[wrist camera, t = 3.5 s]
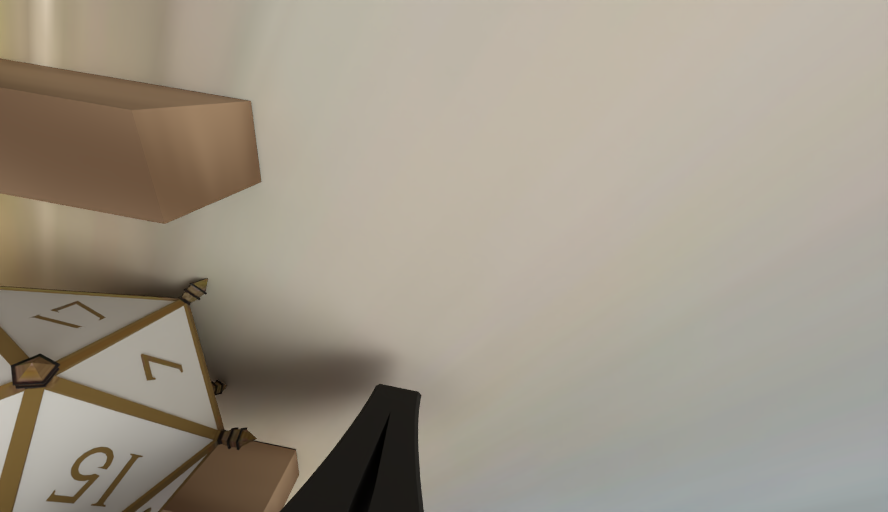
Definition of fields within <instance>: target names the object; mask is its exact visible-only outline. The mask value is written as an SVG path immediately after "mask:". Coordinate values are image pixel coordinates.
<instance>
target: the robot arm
mask: <svg viewBox="0 0 888 512" xmlns="http://www.w3.org/2000/svg"><path fill="white" fill-rule="evenodd" d="M420 399H421V394H420V393H419V392H417V391H412V390H407V389H402V388H397V387H392V386H388V385H383V384H379V385H377V386H376V387H375V389H374V391H373V392H372V394H371V396H370V397H369V399H368V401H367V402H366V404H365V405H364V407H363V409H362V410H361V412H360V413H359V415H358V416H357V417H356V419H355V420H354V422H353V423H352V425H351V426H350V427H349V429H348V430H347V431H346V433H345V434H344V435H343V437H342V438H341V439H340V441H339V442H338V443H337V445H336V446H335V447H334V449H333V450H332V451H331V453H330V454H329V455H328V456H327V458H326V459H325V460H324V461H323V462H322V464H321V465H320V466H319V467H318V468H317V470H316V471H315V472H314V473H313V474H312V476H311V477H310V478H309V479H308V481H307V482H306V483H305V484H304V485H303V486H302V487H301V489H300V490H299V491H298V492H297V493H296V494H295V495H294V497H293V498H292V499H291V500H290V501H289V502H288V503H287V504H286V505H285V506H284V507H283V509H282V510H281V511H280V512H424V510H423V501H422V492H421V481H420V468H419V452H418V416H419V405H420Z"/></svg>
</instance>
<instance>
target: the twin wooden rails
mask: <svg viewBox="0 0 888 512" xmlns="http://www.w3.org/2000/svg"><path fill="white" fill-rule="evenodd" d="M260 182H261V176H260V169H259V161H258V153H257V145H256V138H255V130H254V122H253V114H252V107H251V101H248V100H242V99H236V98H230V97H224V96H218V95H212V94H206V93H200V92H194V91H188V90H182V89H176V88H170V87H164V86H159V85H153V84H147V83H141V82H135V81H129V80H123V79H117V78H111V77H105V76H99V75H93V74H87V73H81V72H75V71H70V70H64V69H58V68H52V67H46V66H40V65H34V64H28V63H22V62H16V61H10V60H4V59H0V193H2V194H7V195H13V196H18V197H24V198H29V199H34V200H40V201H45V202H50V203H56V204H61V205H66V206H72V207H77V208H83V209H88V210H93V211H99V212H104V213H109V214H115V215H120V216H125V217H131V218H136V219H142V220H147V221H152V222H158V223H163V224H166V223H168V222H170V221H172V220H175V219H177V218H179V217H182V216H184V215H186V214H189V213H191V212H193V211H195V210H198V209H200V208H202V207H205V206H207V205H209V204H212V203H214V202H216V201H218V200H221V199H223V198H225V197H228V196H230V195H232V194H235V193H237V192H239V191H242V190H244V189H246V188H248V187H251V186H253V185H255V184H258V183H260ZM298 476H299V470H298V462H297V455H296V450H292V449H288V448H283V447H278V446H274V445H269V444H264V443H260V442H255V441H251V442H249V443H248V444H246V445H244V446H242V447H241V448H240V449H239V450H237V448H235V447H231V448H230V449H228V447H227V446H226V445H223V444H220V445H218V446H217V447H216V448H215V450H214V451H213V452H212V453H211V454H210V455H209V457H208V458H207V459H206V460H205V461H204V462H203V464H202V465H201V466H200V467H199V468H198V469H197V470H196V472H195V473H194V474H193V475H192V476H191V477H190V479H189V480H188V481H187V482H186V483H185V484H184V486H183V487H182V488H181V489H180V490H179V491H178V493H177V494H176V495H175V496H174V497H173V498H172V500H171V501H170V502H169V503H168V504H167V505H166V507H165V508H164V509H163V510H162V511H161V512H280V511H281V510H282V509H283V507H284V505H285V503H286V501H287V498H288V496H289V494H290V492H291V490H292V488H293V486H294V484H295V482H296V480H297V478H298Z"/></svg>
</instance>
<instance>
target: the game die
mask: <svg viewBox="0 0 888 512" xmlns="http://www.w3.org/2000/svg"><path fill="white" fill-rule="evenodd" d="M207 281H208V278H207V279H204V280H201V281H198V282H195V283H190V286H189V287H188V288H187V289H184V291H185V292H184V293H183V295H182V296H181V297H180V298H169V297H154V296H140V295H125V294H110V293H95V292H81V291H66V290H51V289H36V288H22V287H7V286H0V512H161V511H162V510H163V509H164V508H165V507H166V505H167V504H168V503H169V502H170V501H171V500H172V498H173V497H174V496H175V495H176V494H177V493H178V491H179V490H180V489H181V488H182V487H183V486H184V484H185V483H186V482H187V481H188V480H189V479H190V477H191V476H192V475H193V474H194V473H195V472H196V470H197V469H198V468H199V467H200V466H201V465H202V464H203V462H204V461H205V460H206V459H207V458H208V457H209V455H210V454H211V453H212V452H213V451H214V450H215V448H216V447H217V446H218V445H220V444H223V445H226V446H227V447H228V449H230V448H231V447H235V448H237V450H239V449H240V448H241V447H242V446H244V445H246V444H248V443H249V442H251V441H253V440H255V439H257V438H256V437H255V436H253V435H252V434H251V433H250V432H249V431H248V430H247V428H241V429H238V428H232V429H231V430H229V431H226V430H224V426H223V423H222V419H221V416H220V412H219V409H218V405H217V401H216V398H215V395H217V394H222V391H223V390H224V389H225V387H226V386H227V385H225V384H223V383H222V382H220V381H219V380H216V381H215V382H213V381H212V382H211V380H210V377H209V373H208V369H207V366H206V362H205V359H204V355H203V352H202V348H201V344H200V341H199V337H198V334H197V330H196V327H195V323H194V319H193V316H192V312H191V309H190V304H191V302H193V301H195V300H197V299H198V300H200V297H201V296H202V295H203V294H207V293H206V286H207Z"/></svg>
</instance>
